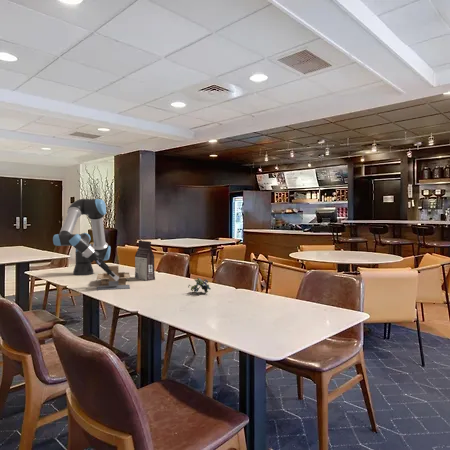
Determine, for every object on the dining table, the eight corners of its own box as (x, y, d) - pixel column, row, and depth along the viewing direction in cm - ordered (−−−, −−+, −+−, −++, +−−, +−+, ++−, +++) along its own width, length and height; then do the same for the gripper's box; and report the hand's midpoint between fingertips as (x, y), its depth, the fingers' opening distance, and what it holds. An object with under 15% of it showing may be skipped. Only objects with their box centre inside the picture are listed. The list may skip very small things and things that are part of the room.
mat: (97, 286, 243) (97, 286, 243) (129, 285, 249) (129, 284, 249) (97, 290, 232) (97, 289, 232) (130, 288, 238) (130, 287, 238)
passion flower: (205, 301, 227) (215, 286, 223) (192, 301, 219) (202, 285, 215) (196, 288, 234) (206, 274, 230) (183, 288, 226) (193, 273, 222)
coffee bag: (156, 279, 272) (156, 241, 271) (146, 281, 266) (146, 241, 265) (143, 276, 284) (143, 240, 283) (133, 278, 277) (133, 240, 276)
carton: (98, 280, 268) (98, 273, 268) (128, 278, 274) (128, 272, 274) (96, 286, 243) (96, 279, 243) (130, 285, 250) (130, 277, 249)
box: (108, 284, 242) (108, 265, 242) (118, 283, 244) (118, 265, 244) (108, 285, 237) (108, 267, 236) (118, 285, 238) (118, 266, 238)
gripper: (87, 256, 244) (113, 280, 250) (85, 260, 226) (113, 285, 231) (96, 248, 246) (121, 272, 251) (94, 251, 228) (122, 276, 233)
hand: (117, 278), depth 241 cm, fingers closed on box, 6 cm apart
